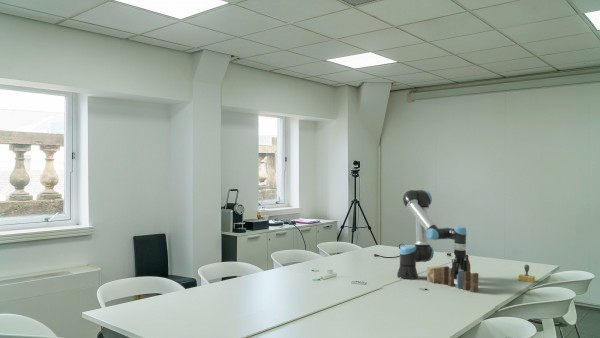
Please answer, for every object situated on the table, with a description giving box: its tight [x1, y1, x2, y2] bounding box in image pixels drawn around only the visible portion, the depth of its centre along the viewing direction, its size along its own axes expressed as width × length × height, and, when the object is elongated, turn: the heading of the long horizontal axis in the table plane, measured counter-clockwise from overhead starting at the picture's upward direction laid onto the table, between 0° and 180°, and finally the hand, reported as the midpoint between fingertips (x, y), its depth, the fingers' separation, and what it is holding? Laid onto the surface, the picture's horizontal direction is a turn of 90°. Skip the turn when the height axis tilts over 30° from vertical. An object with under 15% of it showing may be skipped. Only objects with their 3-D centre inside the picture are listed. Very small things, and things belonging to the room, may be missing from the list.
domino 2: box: [447, 267, 456, 287], centre depth 319 cm, size 2×5×12 cm, turn 122°
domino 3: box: [455, 270, 464, 289], centre depth 314 cm, size 2×5×12 cm, turn 122°
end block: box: [426, 265, 443, 284], centre depth 331 cm, size 6×12×10 cm, turn 122°
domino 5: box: [469, 272, 479, 293], centre depth 304 cm, size 2×5×12 cm, turn 122°
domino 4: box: [462, 270, 471, 291], centre depth 309 cm, size 2×5×12 cm, turn 122°
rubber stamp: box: [517, 264, 536, 283], centre depth 340 cm, size 10×6×12 cm, turn 52°
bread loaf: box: [458, 254, 471, 272], centre depth 330 cm, size 11×8×20 cm
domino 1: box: [441, 265, 450, 285], centre depth 324 cm, size 2×5×12 cm, turn 122°
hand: (459, 283), depth 314 cm, fingers open, 6 cm apart
